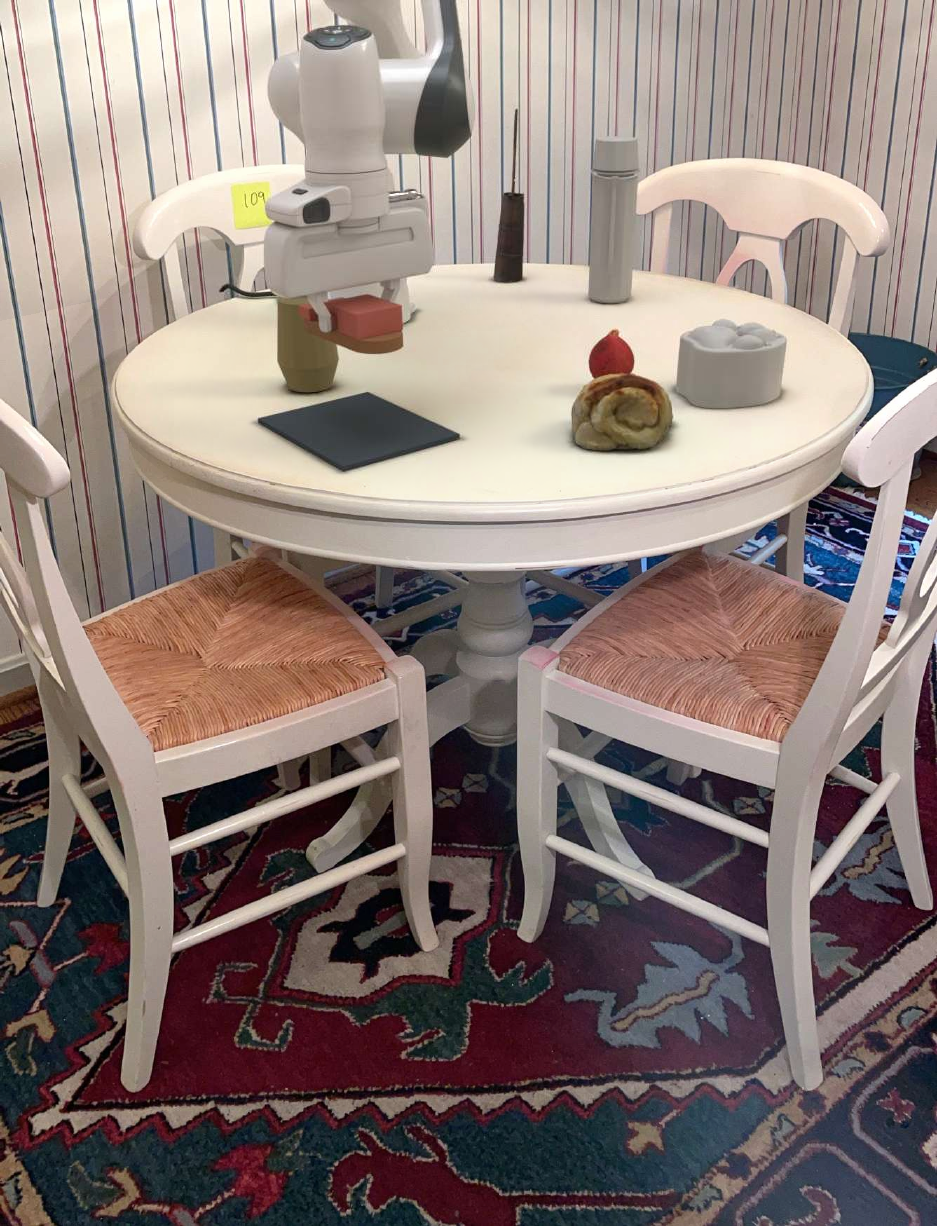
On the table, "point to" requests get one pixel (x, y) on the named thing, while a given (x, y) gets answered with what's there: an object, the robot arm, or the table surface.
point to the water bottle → (613, 218)
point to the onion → (611, 356)
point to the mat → (357, 430)
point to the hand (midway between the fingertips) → (356, 325)
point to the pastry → (621, 413)
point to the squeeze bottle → (303, 350)
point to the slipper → (360, 324)
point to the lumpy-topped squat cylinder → (730, 365)
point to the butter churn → (511, 230)
